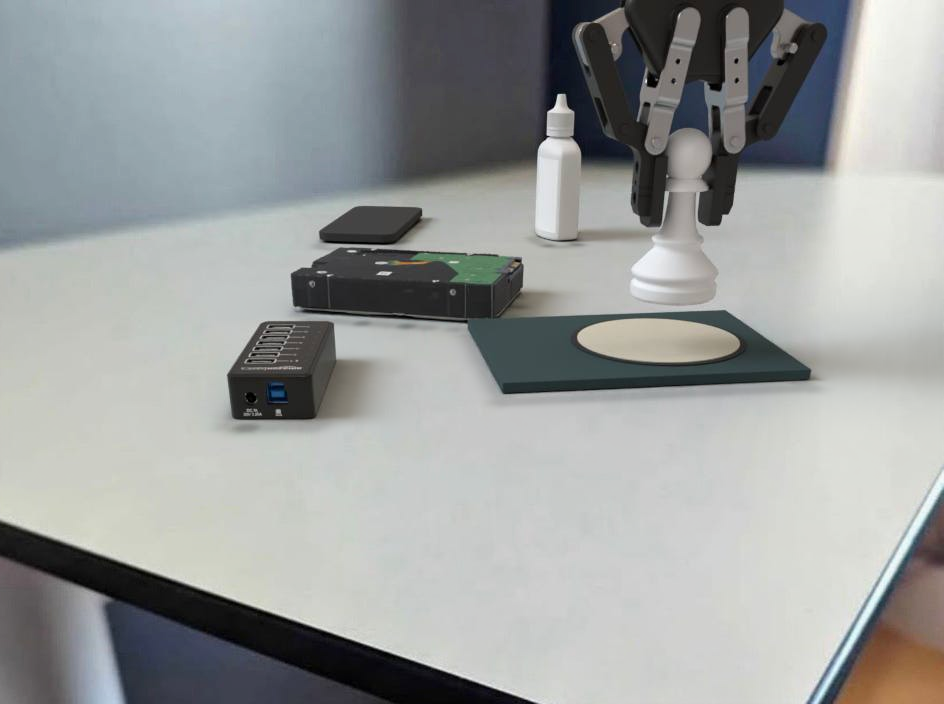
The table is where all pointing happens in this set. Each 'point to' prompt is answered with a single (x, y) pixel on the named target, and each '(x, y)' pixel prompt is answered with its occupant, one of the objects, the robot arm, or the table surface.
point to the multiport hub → (283, 370)
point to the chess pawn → (679, 231)
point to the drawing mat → (628, 351)
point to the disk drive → (409, 283)
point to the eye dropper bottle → (558, 177)
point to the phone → (371, 224)
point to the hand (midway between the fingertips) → (680, 223)
